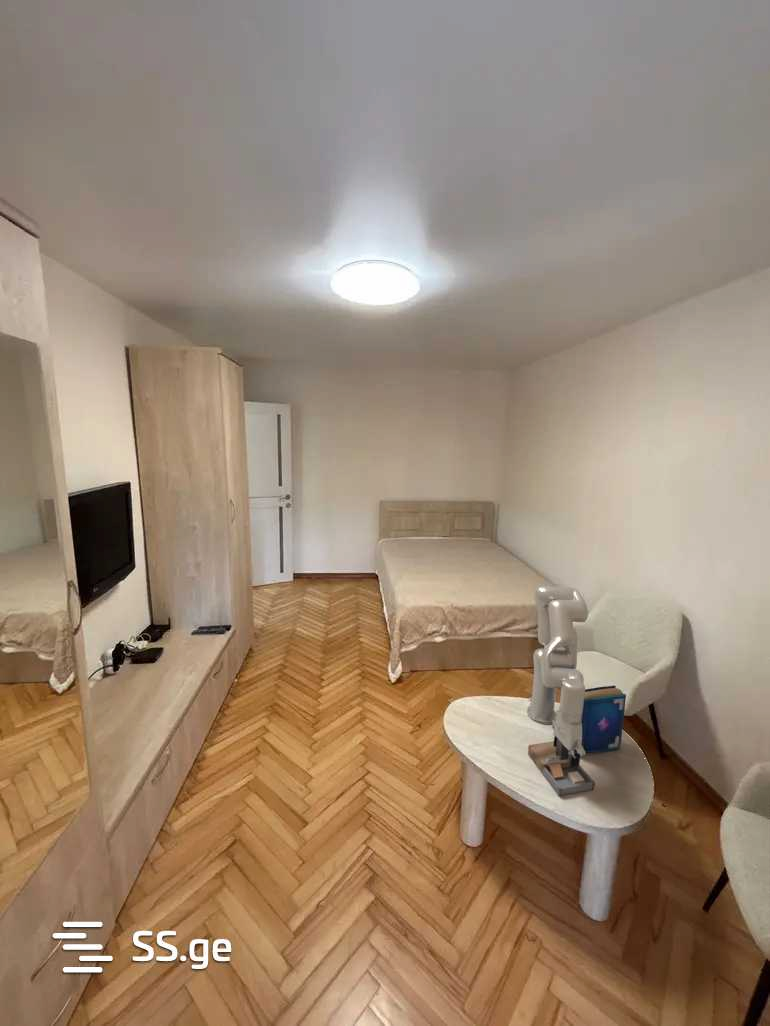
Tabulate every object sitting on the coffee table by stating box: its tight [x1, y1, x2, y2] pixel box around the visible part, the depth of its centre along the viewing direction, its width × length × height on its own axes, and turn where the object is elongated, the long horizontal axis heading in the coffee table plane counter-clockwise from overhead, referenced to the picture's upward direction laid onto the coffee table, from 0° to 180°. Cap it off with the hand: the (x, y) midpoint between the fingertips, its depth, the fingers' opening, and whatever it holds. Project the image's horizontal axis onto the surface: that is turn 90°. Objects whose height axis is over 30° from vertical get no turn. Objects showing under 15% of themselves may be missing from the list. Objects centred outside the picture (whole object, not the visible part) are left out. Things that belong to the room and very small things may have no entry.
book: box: [569, 685, 627, 755], centre depth 167 cm, size 22×7×25 cm, turn 101°
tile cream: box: [567, 771, 585, 784], centre depth 152 cm, size 4×4×2 cm
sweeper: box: [546, 738, 572, 766], centre depth 155 cm, size 3×12×10 cm, turn 103°
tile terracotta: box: [549, 764, 563, 778], centre depth 154 cm, size 4×4×2 cm
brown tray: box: [527, 740, 573, 775], centre depth 161 cm, size 10×14×4 cm
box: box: [542, 764, 596, 797], centre depth 152 cm, size 10×14×3 cm
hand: (565, 755), depth 153 cm, fingers open, 9 cm apart
